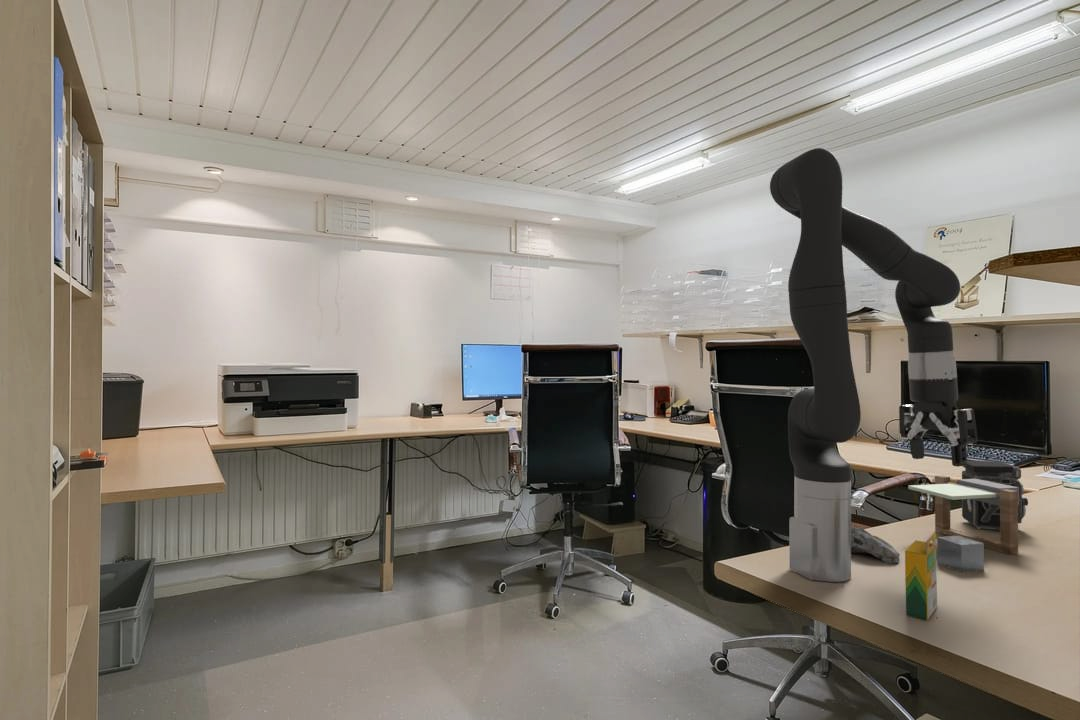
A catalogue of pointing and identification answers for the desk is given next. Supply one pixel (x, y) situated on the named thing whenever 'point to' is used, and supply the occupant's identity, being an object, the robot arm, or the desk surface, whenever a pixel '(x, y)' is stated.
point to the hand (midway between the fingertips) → (937, 462)
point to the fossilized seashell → (872, 545)
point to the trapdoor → (967, 490)
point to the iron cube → (960, 553)
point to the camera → (986, 512)
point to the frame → (1006, 520)
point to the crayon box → (921, 578)
